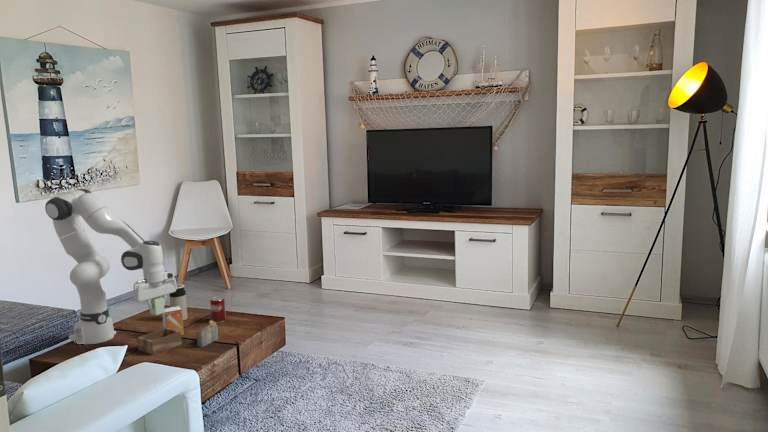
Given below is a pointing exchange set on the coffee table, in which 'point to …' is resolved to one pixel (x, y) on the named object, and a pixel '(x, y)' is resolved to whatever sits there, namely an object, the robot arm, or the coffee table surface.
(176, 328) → the small box
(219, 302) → the soda can
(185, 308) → the travel mug
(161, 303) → the sage block
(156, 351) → the crate
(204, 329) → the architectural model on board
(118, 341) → the coffee table surface
